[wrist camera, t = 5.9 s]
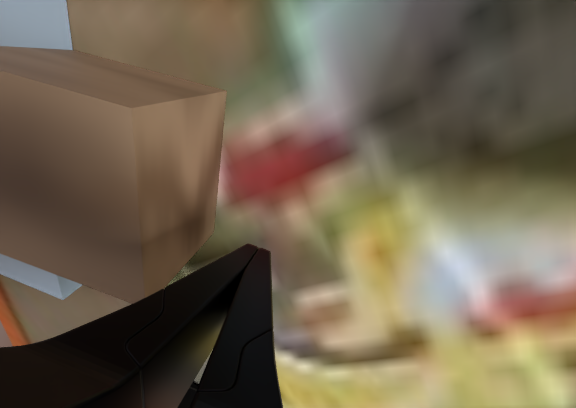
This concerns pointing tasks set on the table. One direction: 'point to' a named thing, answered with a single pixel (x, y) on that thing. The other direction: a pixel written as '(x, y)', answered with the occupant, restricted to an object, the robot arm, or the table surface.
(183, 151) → the block
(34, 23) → the pale grey long bar
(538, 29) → the table surface
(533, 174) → the table surface
